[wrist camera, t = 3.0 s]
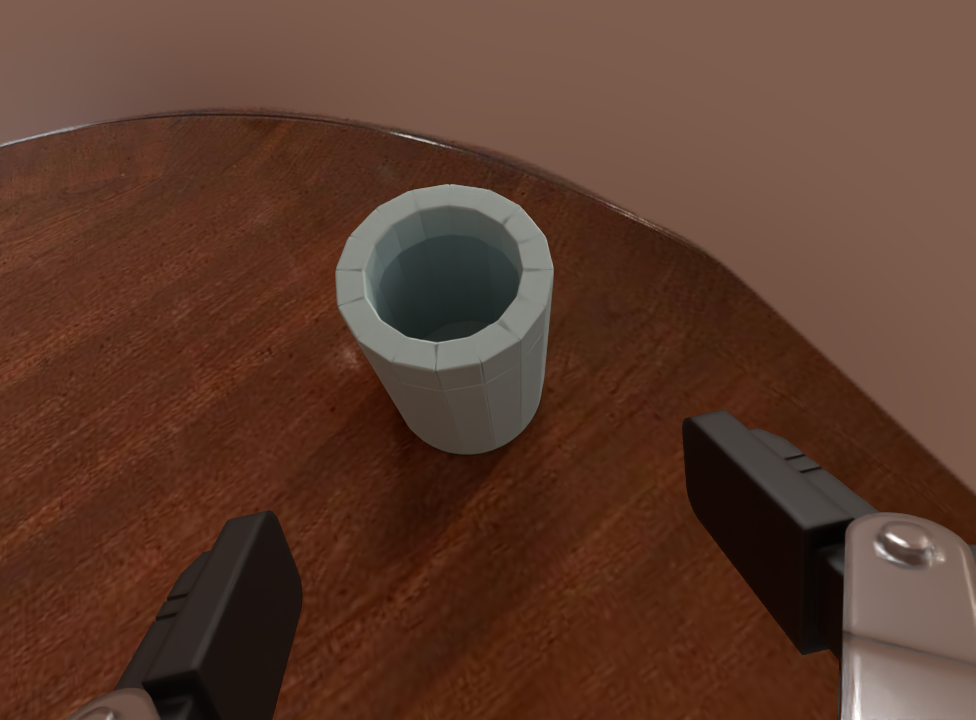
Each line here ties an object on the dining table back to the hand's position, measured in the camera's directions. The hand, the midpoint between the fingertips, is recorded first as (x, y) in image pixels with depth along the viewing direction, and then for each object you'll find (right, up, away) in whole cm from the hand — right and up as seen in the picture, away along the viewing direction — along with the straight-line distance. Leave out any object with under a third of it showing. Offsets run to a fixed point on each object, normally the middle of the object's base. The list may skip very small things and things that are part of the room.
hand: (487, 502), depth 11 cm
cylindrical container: (-1, +2, +14) cm, 14 cm away
